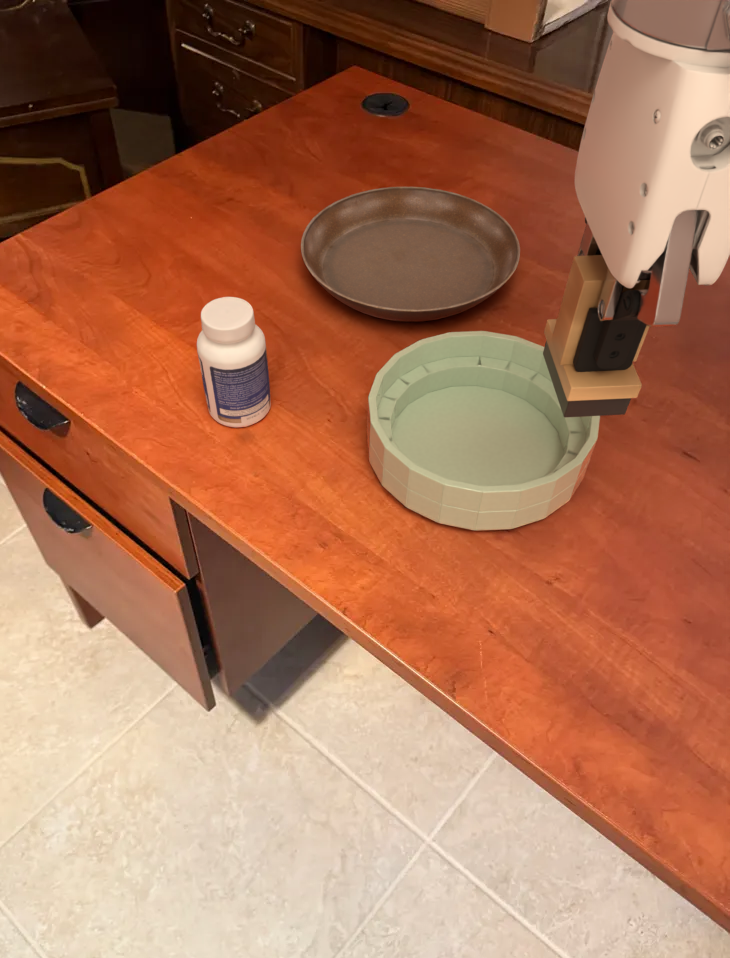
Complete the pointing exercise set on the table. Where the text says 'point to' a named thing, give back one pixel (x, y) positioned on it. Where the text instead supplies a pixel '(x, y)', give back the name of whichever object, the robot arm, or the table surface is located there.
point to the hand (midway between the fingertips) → (594, 348)
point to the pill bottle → (233, 363)
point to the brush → (574, 388)
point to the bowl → (475, 432)
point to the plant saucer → (410, 252)
